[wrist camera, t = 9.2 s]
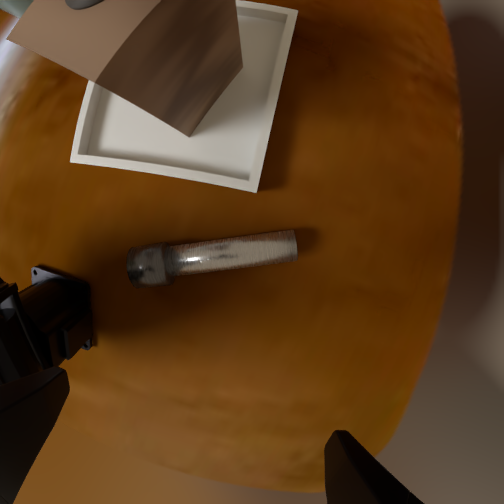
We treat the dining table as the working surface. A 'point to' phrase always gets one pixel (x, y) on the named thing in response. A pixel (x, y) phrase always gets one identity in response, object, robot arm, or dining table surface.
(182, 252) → the flashlight
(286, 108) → the dining table surface
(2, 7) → the cup
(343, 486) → the robot arm
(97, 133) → the tray
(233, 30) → the block
